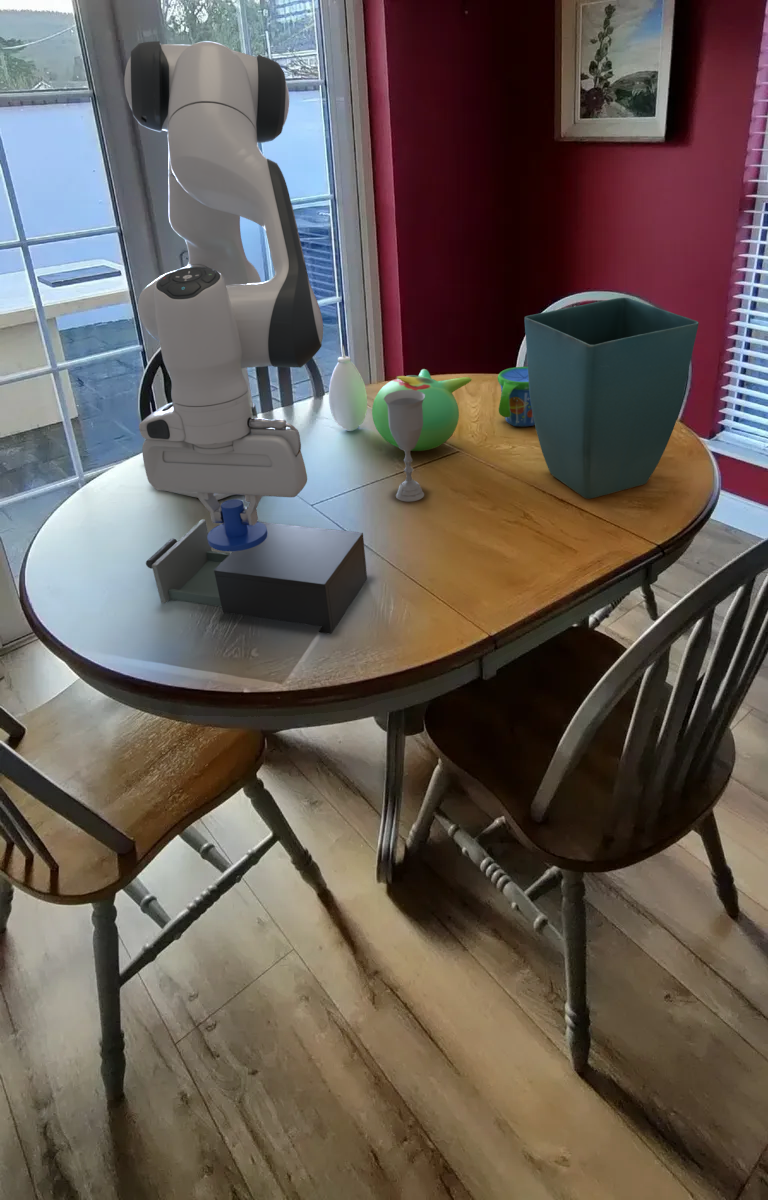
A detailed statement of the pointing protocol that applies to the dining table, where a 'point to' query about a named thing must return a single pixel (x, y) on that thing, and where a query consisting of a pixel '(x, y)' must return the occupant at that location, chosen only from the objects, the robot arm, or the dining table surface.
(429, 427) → the toy bird
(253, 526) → the lid
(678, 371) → the flower pot
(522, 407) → the snack cup
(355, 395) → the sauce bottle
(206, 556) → the grey drawer
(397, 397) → the chalice
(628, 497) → the dining table surface
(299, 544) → the dark grey drawer cabinet
